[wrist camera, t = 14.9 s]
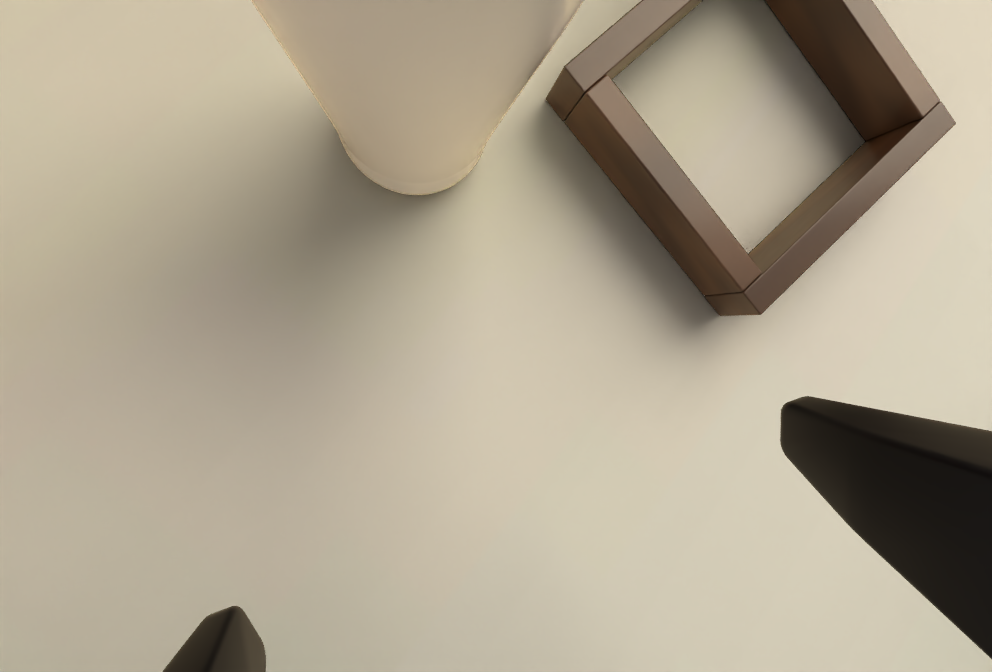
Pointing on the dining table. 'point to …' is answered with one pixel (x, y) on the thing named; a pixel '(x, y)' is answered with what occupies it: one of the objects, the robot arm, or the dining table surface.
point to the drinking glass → (416, 76)
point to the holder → (817, 220)
